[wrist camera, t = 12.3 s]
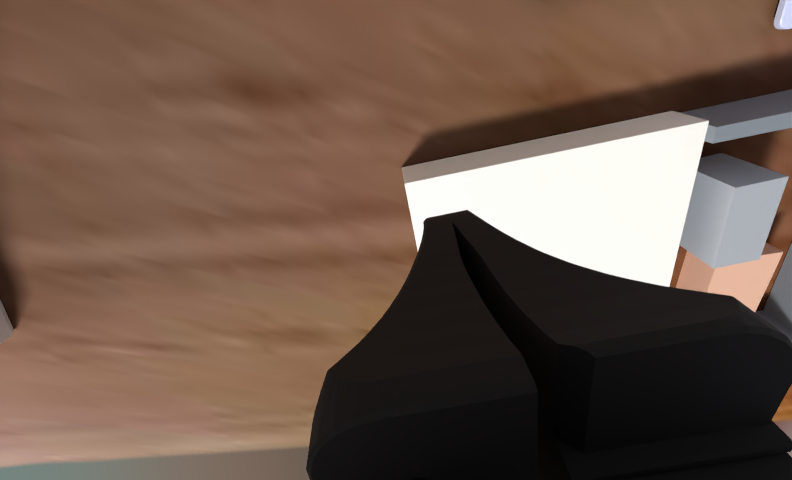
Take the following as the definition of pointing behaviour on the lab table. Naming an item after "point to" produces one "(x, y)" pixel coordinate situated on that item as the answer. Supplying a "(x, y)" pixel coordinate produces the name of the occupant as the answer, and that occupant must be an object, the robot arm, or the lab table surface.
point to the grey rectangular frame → (788, 298)
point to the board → (578, 192)
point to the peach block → (732, 277)
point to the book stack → (4, 325)
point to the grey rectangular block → (731, 210)
